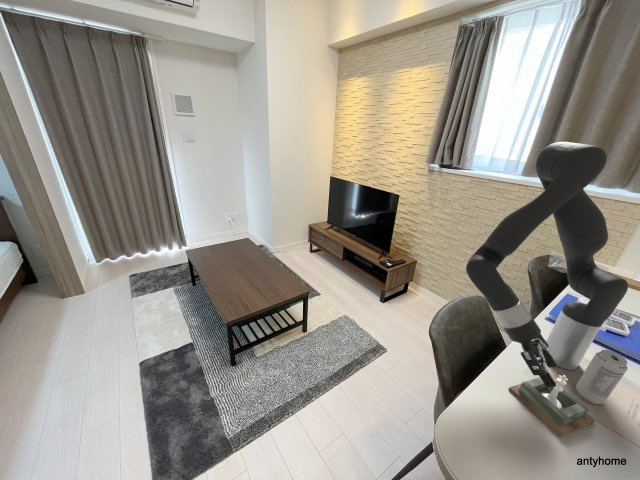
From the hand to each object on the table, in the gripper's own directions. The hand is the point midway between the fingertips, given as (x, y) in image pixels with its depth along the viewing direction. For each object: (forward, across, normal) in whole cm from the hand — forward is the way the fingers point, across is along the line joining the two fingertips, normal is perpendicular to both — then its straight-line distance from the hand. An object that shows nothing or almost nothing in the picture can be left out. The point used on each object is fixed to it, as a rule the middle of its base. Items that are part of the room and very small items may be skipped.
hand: (552, 376), depth 68 cm
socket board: (+8, 0, +5) cm, 9 cm away
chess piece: (+7, 0, +5) cm, 9 cm away
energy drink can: (+14, +12, -1) cm, 19 cm away
